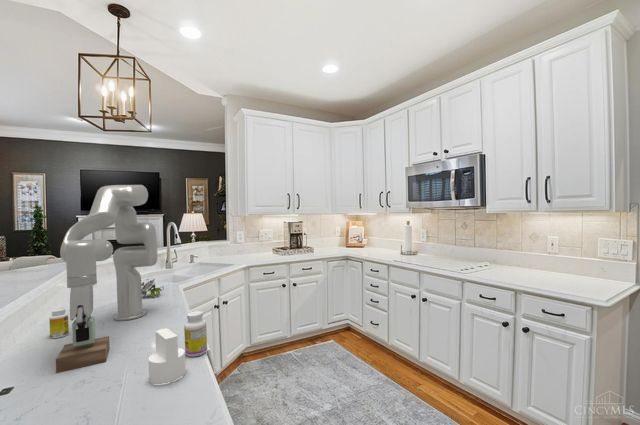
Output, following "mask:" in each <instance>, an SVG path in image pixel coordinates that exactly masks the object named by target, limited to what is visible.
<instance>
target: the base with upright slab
mask: <svg viewBox="0 0 640 425" xmlns="http://www.w3.org/2000/svg"><path fill="white" fill-rule="evenodd" d="M178 343H179V342H178V335H177V334H176V333H174V332H173V331H172V330H170V329H169V328H167V327H166V328H161V329H158V330H155V347H156V348H155V351H156V352H154V353H152V354H151V355H150V356H149V357H148V376H149V377H148V378H149V379H148V381H150V382H149V384H150V385H152V384H162V383H168V382H172V381H174V380H176V379H178V378H180V377H181V376H183V375H184V373H185V374H186V356H185V355H186V354H185V348H181V347H179V344H178ZM184 376H185V375H184ZM184 376H183V377H184Z"/></svg>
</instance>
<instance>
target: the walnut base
mask: <svg viewBox="0 0 640 425" xmlns="http://www.w3.org/2000/svg"><path fill="white" fill-rule="evenodd" d="M110 348H111V347H110V336H109V335H108V336H104V337H98V338H95V339H94V342H93V343H89V344H84V345H79V346H74V347H73V342H72V343H69V344H68V343H67V344H64V346H63V347H62V348H61V351H60V352H59V353H58V355H57V356H56V358H55V373H56V374H58V373H62V372H63V373H64V372H67V371H71V370H75V369H80V368H84V367H90V366H92V365H93V366H94V365H98V364H102V363H105V362H107V360H108V356H109V351H110Z"/></svg>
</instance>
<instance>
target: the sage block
mask: <svg viewBox="0 0 640 425" xmlns="http://www.w3.org/2000/svg"><path fill="white" fill-rule="evenodd" d="M95 318H96V317H95V316H91V317H88V327H89V340H87V341H82V342H76V318H75V319H74V320H73V322H72V324H71V326H72V328H71V329H72V343H73V347H74V346H79V345H84V344H89V343H93V342H94V339H96V322H95ZM83 321H85V320H83Z"/></svg>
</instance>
